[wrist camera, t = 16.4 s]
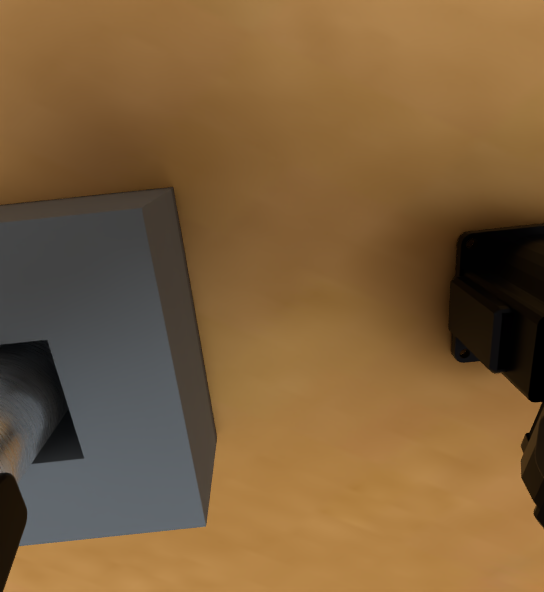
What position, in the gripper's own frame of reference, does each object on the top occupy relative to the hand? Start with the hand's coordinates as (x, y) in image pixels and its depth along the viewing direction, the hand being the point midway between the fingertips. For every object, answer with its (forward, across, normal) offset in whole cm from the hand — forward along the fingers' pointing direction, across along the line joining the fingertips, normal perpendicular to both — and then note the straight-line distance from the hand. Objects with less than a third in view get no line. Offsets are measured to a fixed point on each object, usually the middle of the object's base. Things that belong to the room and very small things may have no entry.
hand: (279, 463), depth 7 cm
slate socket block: (+13, +10, +3) cm, 17 cm away
